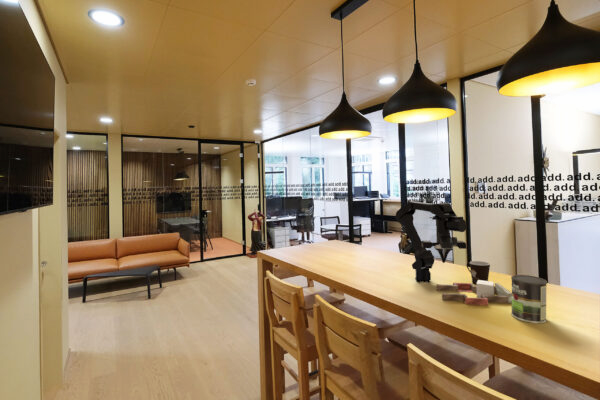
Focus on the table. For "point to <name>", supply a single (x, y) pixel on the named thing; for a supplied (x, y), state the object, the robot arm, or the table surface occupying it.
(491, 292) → the white cube
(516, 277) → the coffee can
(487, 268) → the coffee mug
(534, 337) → the table surface
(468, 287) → the trap lane
